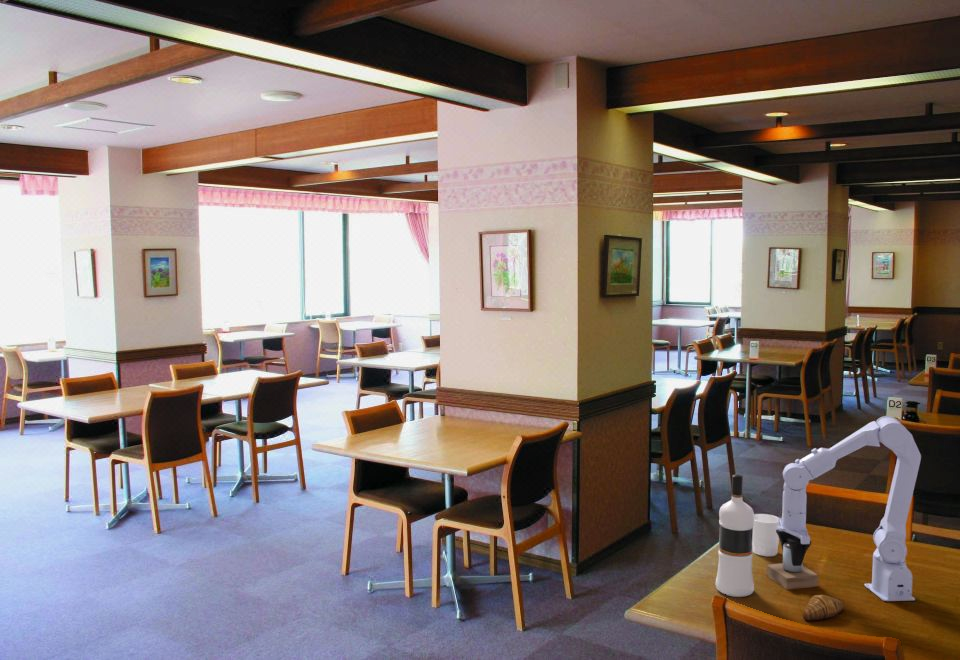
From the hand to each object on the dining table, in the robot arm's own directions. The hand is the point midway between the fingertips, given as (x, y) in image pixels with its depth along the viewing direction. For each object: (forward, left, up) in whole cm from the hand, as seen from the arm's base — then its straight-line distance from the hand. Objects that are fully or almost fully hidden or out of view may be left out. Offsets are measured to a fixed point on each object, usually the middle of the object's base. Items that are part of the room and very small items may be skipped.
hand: (792, 561), depth 206 cm
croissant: (-19, +1, -6) cm, 20 cm away
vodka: (-5, +17, -6) cm, 19 cm away
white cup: (+20, -1, -6) cm, 21 cm away
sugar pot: (0, 0, -2) cm, 2 cm away
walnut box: (0, 0, -5) cm, 5 cm away
